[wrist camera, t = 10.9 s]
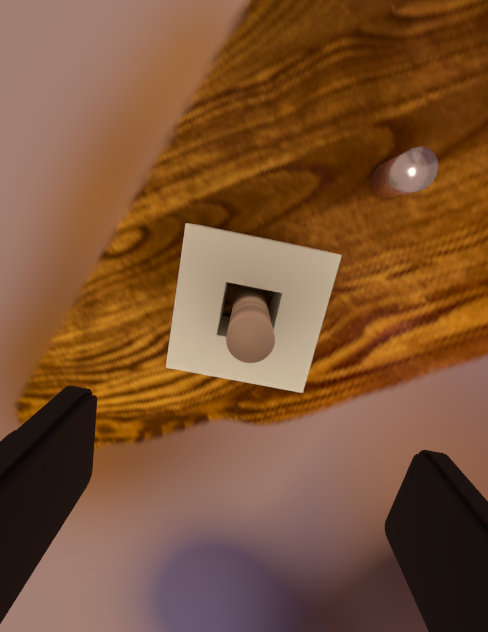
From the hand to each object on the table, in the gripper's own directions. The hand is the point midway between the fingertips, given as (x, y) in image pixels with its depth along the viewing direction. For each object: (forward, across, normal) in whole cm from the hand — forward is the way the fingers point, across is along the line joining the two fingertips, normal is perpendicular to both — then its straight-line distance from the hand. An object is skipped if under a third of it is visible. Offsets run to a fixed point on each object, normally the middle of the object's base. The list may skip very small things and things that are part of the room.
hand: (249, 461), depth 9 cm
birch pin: (+22, 0, 0) cm, 22 cm away
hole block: (+22, 0, 0) cm, 22 cm away
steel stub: (+22, -10, -13) cm, 28 cm away
